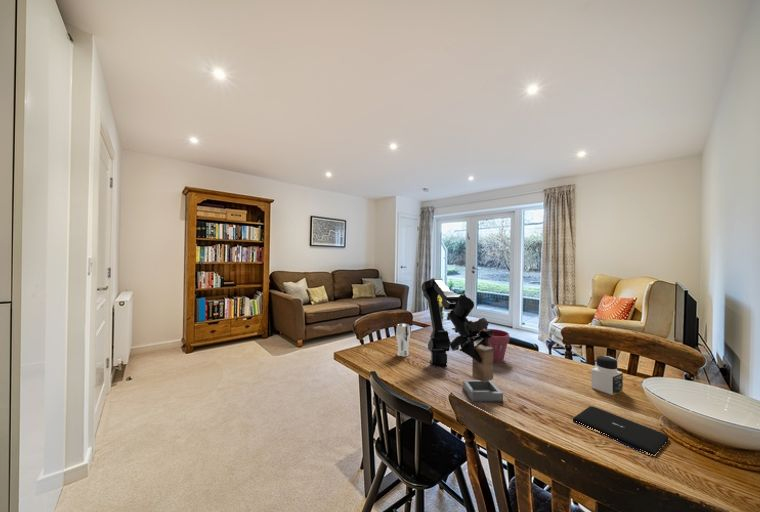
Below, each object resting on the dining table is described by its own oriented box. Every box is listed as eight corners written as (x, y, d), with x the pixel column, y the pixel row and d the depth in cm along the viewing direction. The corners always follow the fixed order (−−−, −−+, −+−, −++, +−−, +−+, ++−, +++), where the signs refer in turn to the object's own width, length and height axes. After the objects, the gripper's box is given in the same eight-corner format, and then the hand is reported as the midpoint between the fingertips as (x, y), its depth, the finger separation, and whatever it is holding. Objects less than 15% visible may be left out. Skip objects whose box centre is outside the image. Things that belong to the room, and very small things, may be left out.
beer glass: (411, 353, 144) (411, 324, 144) (408, 358, 137) (408, 327, 137) (398, 351, 146) (398, 322, 146) (394, 356, 139) (394, 326, 139)
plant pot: (472, 358, 136) (472, 332, 136) (484, 351, 147) (484, 327, 147) (503, 366, 127) (503, 338, 127) (513, 358, 137) (513, 332, 137)
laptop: (646, 463, 68) (647, 455, 68) (564, 419, 87) (564, 413, 87) (679, 446, 75) (679, 438, 75) (595, 408, 93) (595, 402, 93)
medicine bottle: (613, 396, 100) (613, 362, 100) (590, 387, 107) (590, 355, 107) (623, 391, 104) (623, 358, 104) (600, 383, 110) (600, 352, 110)
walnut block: (472, 377, 102) (472, 346, 102) (481, 374, 105) (481, 344, 105) (484, 382, 98) (484, 350, 98) (493, 379, 101) (493, 348, 100)
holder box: (472, 402, 96) (472, 393, 96) (462, 388, 106) (463, 380, 106) (503, 402, 96) (503, 393, 96) (490, 387, 106) (490, 379, 106)
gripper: (456, 314, 99) (483, 354, 90) (489, 308, 110) (516, 344, 100) (440, 331, 106) (463, 370, 97) (472, 324, 116) (496, 359, 107)
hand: (486, 360), depth 100 cm, fingers closed on walnut block, 5 cm apart
